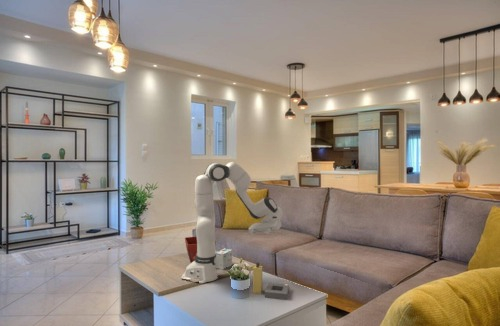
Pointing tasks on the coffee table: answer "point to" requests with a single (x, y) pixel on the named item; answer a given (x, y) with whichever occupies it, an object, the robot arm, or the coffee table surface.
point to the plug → (257, 278)
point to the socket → (277, 291)
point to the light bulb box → (224, 258)
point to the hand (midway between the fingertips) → (258, 233)
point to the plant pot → (192, 247)
